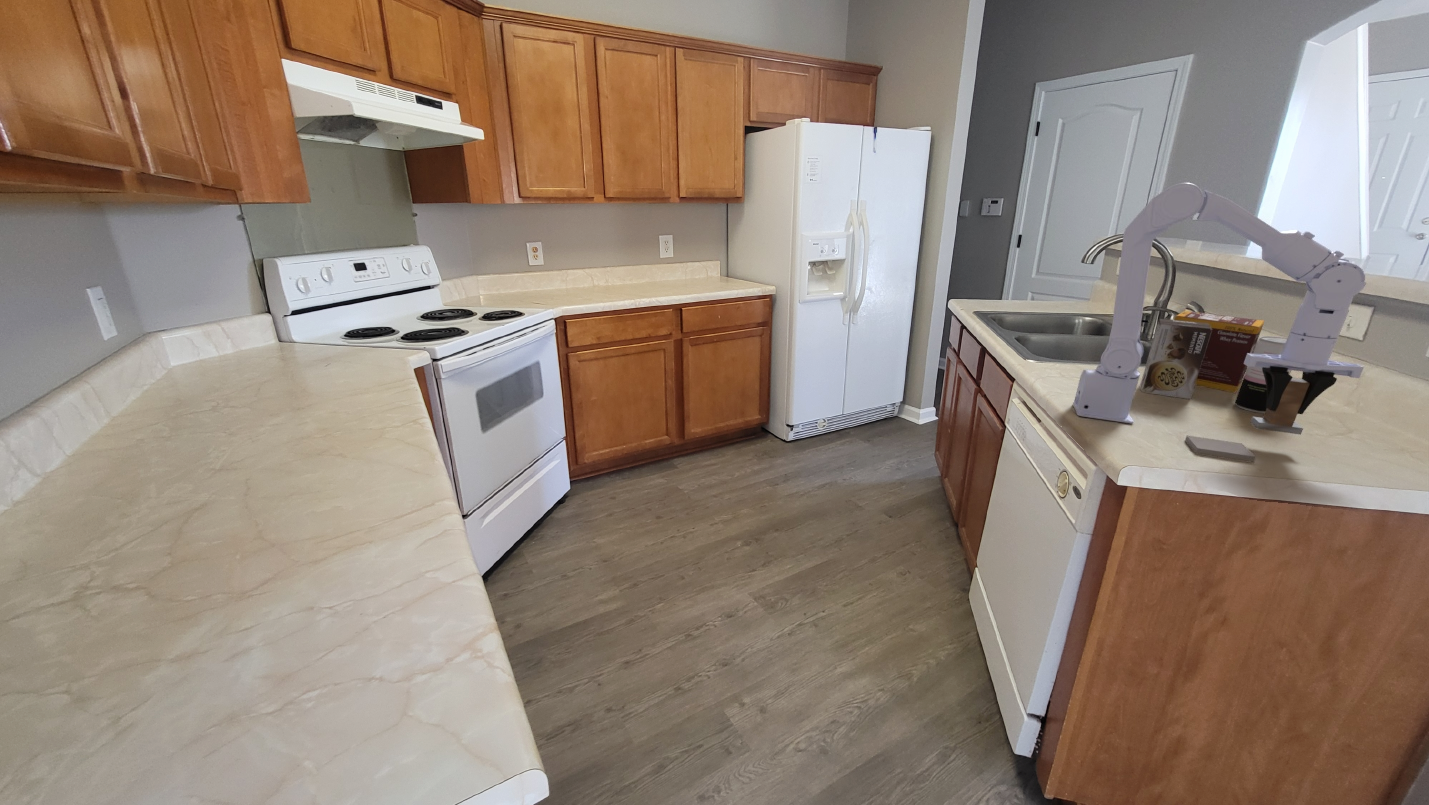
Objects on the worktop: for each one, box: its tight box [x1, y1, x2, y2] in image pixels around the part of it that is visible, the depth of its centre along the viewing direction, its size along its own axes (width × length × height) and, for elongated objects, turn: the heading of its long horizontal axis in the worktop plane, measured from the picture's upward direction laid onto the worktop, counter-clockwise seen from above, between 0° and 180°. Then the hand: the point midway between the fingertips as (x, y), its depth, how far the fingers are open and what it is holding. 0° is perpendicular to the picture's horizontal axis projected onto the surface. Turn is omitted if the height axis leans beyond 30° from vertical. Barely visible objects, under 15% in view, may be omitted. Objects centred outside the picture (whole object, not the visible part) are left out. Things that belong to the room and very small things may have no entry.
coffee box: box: [1139, 318, 1212, 400], centre depth 128 cm, size 9×6×16 cm
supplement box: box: [1173, 310, 1265, 393], centre depth 137 cm, size 10×15×16 cm
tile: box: [1184, 435, 1256, 463], centre depth 100 cm, size 8×2×6 cm
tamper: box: [1249, 376, 1310, 435], centre depth 100 cm, size 6×3×9 cm, turn 66°
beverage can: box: [1234, 335, 1293, 414], centre depth 119 cm, size 6×6×15 cm
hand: (1283, 410), depth 100 cm, fingers closed on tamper, 3 cm apart
